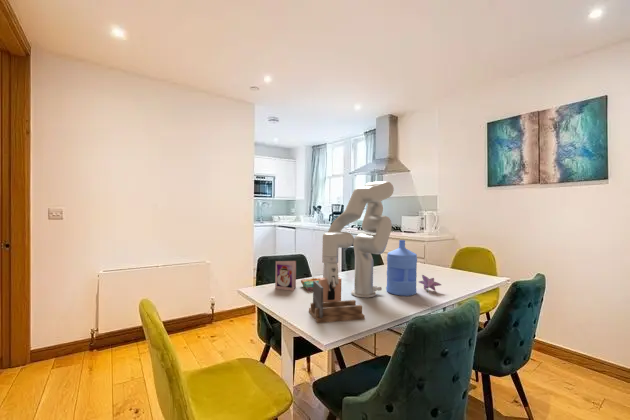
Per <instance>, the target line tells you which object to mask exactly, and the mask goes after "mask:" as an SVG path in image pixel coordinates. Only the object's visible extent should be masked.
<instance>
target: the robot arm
mask: <svg viewBox="0 0 630 420" xmlns="http://www.w3.org/2000/svg"><path fill="white" fill-rule="evenodd" d="M394 191H395V189H394V186H393V184H392V182H390V181H373V182H372V181H371V182H367V183H365V184H364V185H363V186H358V187H355V189H354V190H353V191H352V194H351V196H350V198H349V201H348V202H347V205H346V208H345V210H343V212H342V213H341V214H340V215H338V216H337V217H336V218H335V219H334V220H333V222H332V223H331V224H330V225H329V229H328V231H327V232H325V233H323V234H322V249H321V250H322V255H321V256H322V257H321V258H322V259H321V260H322V263H323V268H322V269H323V270H322V278H325V279H327V284H328V287H329V291H328V300H334V299H335V288H336V285H338V283H339V280H338V277H339V267H338V266H339V264H338V263H339V248H340V249H341V248H342V249H343V248H344V249H348V248H350V247H352V246H353V251H354V252H353V253H354V289H352V290H351V291H350V292H351V293H350V294H351V296H354V297H357V298H363V299H365V298H367V299H368V298H373V297H375V296H376V295H377V293H376V292H377V291H382V286H376V285H374V259H373V258H374V257H373V255H381V254H383V253H384V252H385V251H386V248H387V245H388V242H389V238H390V235H391V232H392V227H393V226H392V225H393V224H392V220H391V218H390V217H389V216H387V215H383V211H384V205H383V203H382V202H383V201H384V200H386V199H389V198H391V197H392V196H393V194H394ZM366 205H367V206H366ZM365 208H366V211H365V214H364V216H363V220H362V223H361V229H362V230H363V231H364V232H365V233H358V234H357V235H356V236H355V237H354V236H353V234H352V233H350V232H345V231H342V230H343V229H344V228H345V227H346V226H347V225H349V224H352V223H354V222H355V221H358V220H360V219H361V217H362V215H363V212H364V210H365ZM372 254H373V255H372ZM330 283H332V284H330ZM335 283H336V284H335ZM330 286H331V288H330Z"/></svg>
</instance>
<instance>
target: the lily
mask: <svg viewBox="0 0 630 420" xmlns="http://www.w3.org/2000/svg"><path fill="white" fill-rule="evenodd" d="M421 276H422V280H419V281H418V283H419V284H422V285H423V289H424V290H427V291H426V292H427V293H428V291H429V288H430V289H431V290H433V291H435V292H436V291H437V289H436V287H438V286H442V284H441V283H440V282H438V281H435V278H434V277H431V278H429V277H427V276H426V275H425V274H421Z"/></svg>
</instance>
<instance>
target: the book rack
mask: <svg viewBox="0 0 630 420" xmlns="http://www.w3.org/2000/svg"><path fill="white" fill-rule="evenodd" d="M356 302H357V301H356V300H355V299H347V300H341V301H331V302H323V287H322V286H321V285H320V284H319V283H318V282H317V281H313V290H312V302H310V307H308V312H309V313H310V315H311V316H312V318H313V319H314V320H315V322H316V323H317V324H321V323H335V322H344V321H345V322H346V321H347V322H348V321H357V320H365V319H366V318H365V316H366V315H365V314H363V305H361V304H357V303H356Z"/></svg>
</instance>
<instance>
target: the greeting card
mask: <svg viewBox="0 0 630 420" xmlns="http://www.w3.org/2000/svg"><path fill="white" fill-rule="evenodd" d="M274 273H275V280H274V282H275V285H274V286H275V289H278V290H283V291H284V290H285V291H292V292H294V291H295V289H297V288H296V287H297V260H282V261H281V260H275V272H274Z"/></svg>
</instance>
